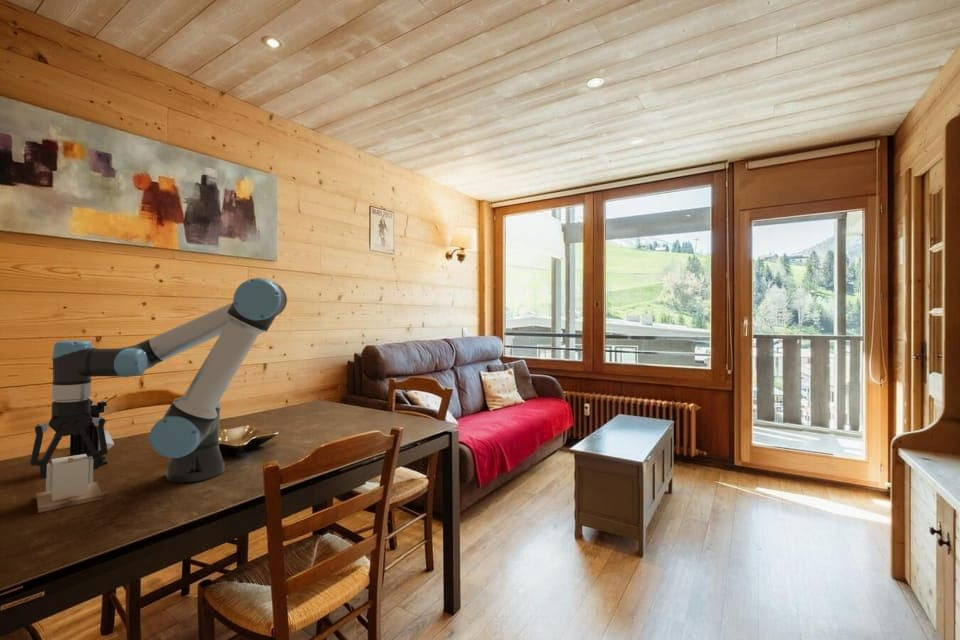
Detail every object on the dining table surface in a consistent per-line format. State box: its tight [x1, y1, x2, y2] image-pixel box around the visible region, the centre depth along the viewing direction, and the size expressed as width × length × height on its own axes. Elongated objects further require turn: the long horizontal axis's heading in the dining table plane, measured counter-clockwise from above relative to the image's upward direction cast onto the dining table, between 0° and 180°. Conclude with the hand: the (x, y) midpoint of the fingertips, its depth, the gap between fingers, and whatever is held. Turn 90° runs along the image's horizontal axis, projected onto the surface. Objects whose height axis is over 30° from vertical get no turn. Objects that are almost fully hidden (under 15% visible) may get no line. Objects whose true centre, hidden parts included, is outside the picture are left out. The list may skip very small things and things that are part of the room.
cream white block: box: [50, 454, 89, 501], centre depth 117 cm, size 7×7×10 cm
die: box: [99, 429, 115, 450], centre depth 150 cm, size 8×9×10 cm
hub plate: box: [35, 481, 103, 514], centre depth 116 cm, size 12×12×1 cm
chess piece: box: [64, 400, 108, 468], centre depth 139 cm, size 8×8×20 cm
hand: (69, 485), depth 116 cm, fingers open, 7 cm apart
